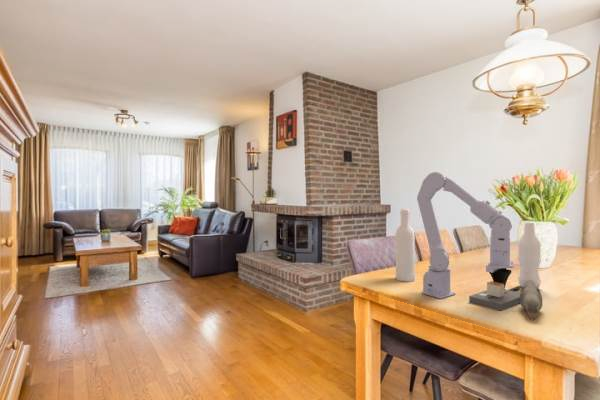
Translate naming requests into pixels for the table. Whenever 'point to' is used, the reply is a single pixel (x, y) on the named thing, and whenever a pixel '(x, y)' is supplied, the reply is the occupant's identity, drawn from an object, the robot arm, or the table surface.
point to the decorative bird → (531, 299)
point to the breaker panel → (496, 299)
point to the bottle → (405, 249)
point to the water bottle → (529, 256)
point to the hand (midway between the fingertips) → (499, 290)
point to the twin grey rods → (515, 288)
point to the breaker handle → (495, 289)
